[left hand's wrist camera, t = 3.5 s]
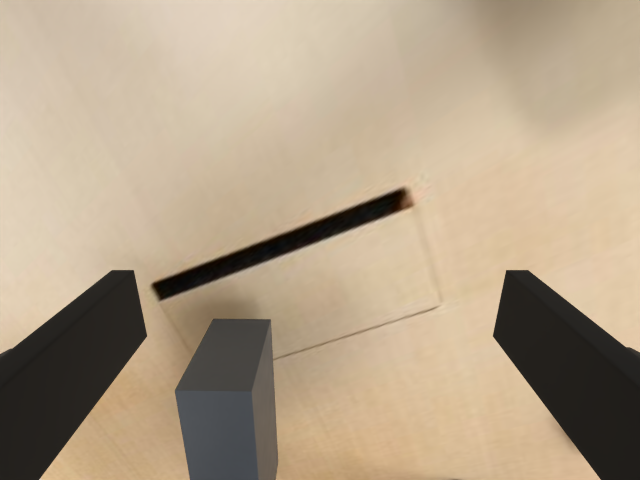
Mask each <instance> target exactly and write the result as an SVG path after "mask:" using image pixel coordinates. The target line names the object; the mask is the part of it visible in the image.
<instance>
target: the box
mask: <svg viewBox="0 0 640 480" xmlns="http://www.w3.org/2000/svg"><path fill="white" fill-rule="evenodd" d="M175 394H176V400H177V406H178V412H179V418H180V423H181V429H182V435H183V441H184V447H185V452H186V458H187V464H188V470H189V476H190V480H276V473H277V466H278V450H277V431H276V412H275V392H274V373H273V353H272V334H271V320H270V319H213V321H212V323H211V324H210V326H209V328H208V330H207V332H206V334H205V336H204V337H203V339H202V341H201V343H200V345H199V347H198V349H197V350H196V352H195V354H194V356H193V358H192V360H191V362H190V363H189V365H188V367H187V369H186V371H185V373H184V375H183V376H182V378H181V380H180V382H179V384H178V386H177V387H176V389H175Z"/></svg>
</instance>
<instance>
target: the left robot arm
mask: <svg viewBox="0 0 640 480" xmlns="http://www.w3.org/2000/svg"><path fill="white" fill-rule="evenodd" d="M146 337H147V333H146V328H145V323H144V319H143V314H142V309H141V304H140V299H139V294H138V289H137V284H136V279H135V274H134V270H112V271H110V272H109V273H108V274H107V275H105V276H104V277H103V278H102V279H100V280H99V281H98V282H96V283H95V284H94V285H93V286H91V287H90V288H89V289H88V290H86V291H85V292H84V293H82V294H81V295H80V296H79V297H77V298H76V299H75V300H74V301H72V302H71V303H70V304H69V305H67V306H66V307H65V308H63V309H62V310H61V311H60V312H58V313H57V314H56V315H55V316H53V317H52V318H51V319H49V320H48V321H47V322H46V323H44V324H43V325H42V326H41V327H39V328H38V329H37V330H35V331H34V332H33V333H32V334H30V335H29V336H28V337H27V338H25V339H24V340H23V341H22V342H20V343H19V344H18V345H16V346H15V347H14V348H13V349H9V350H7V351H5V352H3V353H1V354H0V480H39V479H40V478H41V476H42V475H43V474H44V472H45V471H46V470H47V468H48V467H49V466H50V464H51V463H52V462H53V460H54V459H55V458H56V456H57V455H58V454H59V452H60V451H61V450H62V448H63V447H64V446H65V444H66V443H67V442H68V440H69V439H70V438H71V436H72V435H73V434H74V432H75V431H76V430H77V429H78V427H79V426H80V425H81V423H82V422H83V421H84V419H85V418H86V417H87V415H88V414H89V413H90V411H91V410H92V409H93V407H94V406H95V405H96V403H97V402H98V401H99V399H100V398H101V397H102V395H103V394H104V393H105V391H106V390H107V389H108V387H109V386H110V385H111V383H112V382H113V381H114V379H115V378H116V377H117V375H118V374H119V373H120V371H121V370H122V369H123V367H124V366H125V365H126V363H127V362H128V361H129V359H130V358H131V357H132V355H133V354H134V353H135V351H136V350H137V349H138V348H139V346H140V345H141V344H142V342H143V341H144V340H145V338H146ZM493 337H494V338H495V340H496V341H497V342H498V344H499V345H500V346H501V348H502V349H503V350H504V352H505V353H506V354H507V355H508V357H509V358H510V359H511V361H512V362H513V363H514V365H515V366H516V367H517V369H518V370H519V371H520V373H521V374H522V375H523V377H524V378H525V379H526V381H527V382H528V383H529V385H530V386H531V387H532V389H533V390H534V391H535V393H536V394H537V395H538V397H539V398H540V399H541V401H542V402H543V403H544V405H545V406H546V407H547V409H548V410H549V411H550V413H551V414H552V415H553V417H554V418H555V419H556V421H557V422H558V423H559V425H560V426H561V427H562V429H563V430H564V431H565V432H566V434H567V435H568V436H569V438H570V439H571V440H572V442H573V443H574V444H575V446H576V447H577V448H578V450H579V451H580V452H581V454H582V455H583V456H584V458H585V459H586V460H587V462H588V463H589V464H590V466H591V467H592V468H593V470H594V471H595V472H596V474H597V475H598V476H599V478H600V479H601V480H640V352H638V351H636V350H634V349H632V348H630V347H625V346H624V345H622V344H621V343H620V342H618V341H617V340H616V339H615V338H613V337H612V336H611V335H610V334H608V333H607V332H606V331H605V330H603V329H602V328H601V327H599V326H598V325H597V324H596V323H594V322H593V321H592V320H591V319H589V318H588V317H587V316H585V315H584V314H583V313H582V312H580V311H579V310H578V309H577V308H575V307H574V306H573V305H571V304H570V303H569V302H568V301H566V300H565V299H564V298H563V297H561V296H560V295H559V294H558V293H556V292H555V291H554V290H552V289H551V288H550V287H549V286H547V285H546V284H545V283H544V282H542V281H541V280H540V279H538V278H537V277H536V276H535V275H533V274H532V273H531V272H530V271H528V270H506V274H505V279H504V284H503V289H502V294H501V299H500V304H499V309H498V314H497V319H496V323H495V328H494V333H493Z"/></svg>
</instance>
